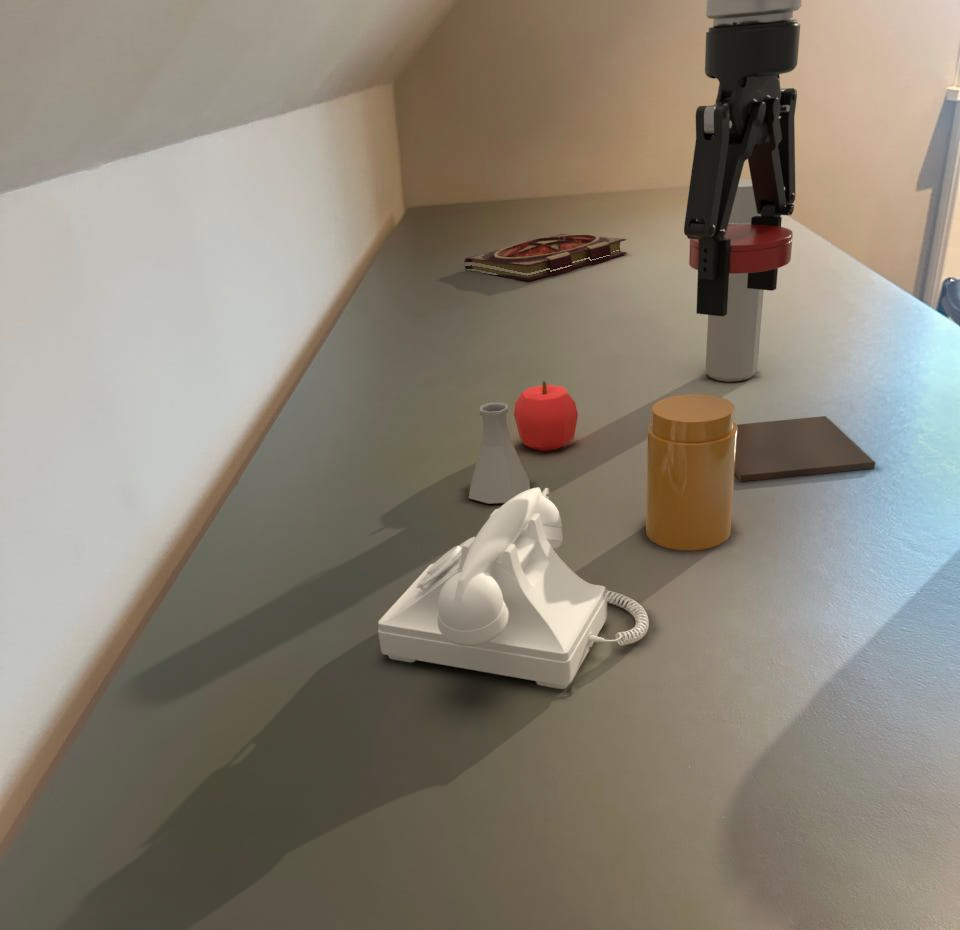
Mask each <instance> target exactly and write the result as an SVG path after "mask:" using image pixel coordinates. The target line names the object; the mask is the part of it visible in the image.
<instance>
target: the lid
mask: <svg viewBox="0 0 960 930" xmlns="http://www.w3.org/2000/svg"><path fill="white" fill-rule="evenodd" d="M793 237H794V232H793V230H791V229H790V228H788V227H783V226H781V227H779V226H772V225H732V226H728V227H727V231H726V234H725V238H728V239H731V245H730V265H729V274H740V273H754V272H762V271H768V270H773V269H776V268H778V269H779V268H782V267H785V266H787V265H789V264H790V262H791V260H792V249H793ZM698 253H699V241H698V239H689V256H688V258H689V261H688V264H689V267H690V268H691V269H694V270H695V271H698Z"/></svg>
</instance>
